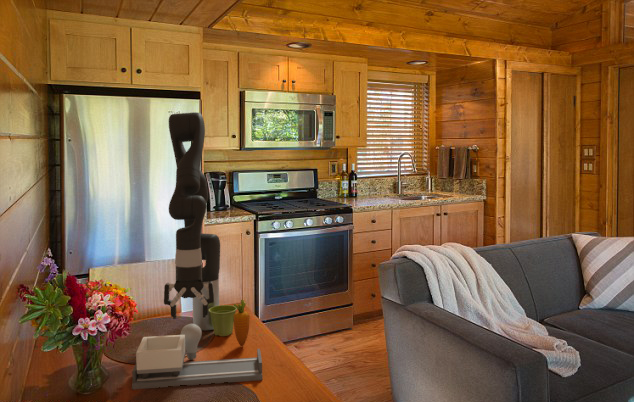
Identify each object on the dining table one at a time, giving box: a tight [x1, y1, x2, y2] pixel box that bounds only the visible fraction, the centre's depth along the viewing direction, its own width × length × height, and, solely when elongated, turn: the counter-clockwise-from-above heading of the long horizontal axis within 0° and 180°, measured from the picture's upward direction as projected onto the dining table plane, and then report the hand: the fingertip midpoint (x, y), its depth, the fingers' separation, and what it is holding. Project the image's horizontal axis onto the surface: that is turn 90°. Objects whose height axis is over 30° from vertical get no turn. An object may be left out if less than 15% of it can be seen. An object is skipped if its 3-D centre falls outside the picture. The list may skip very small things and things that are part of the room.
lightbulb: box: [180, 323, 203, 361], centre depth 153 cm, size 6×6×11 cm
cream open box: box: [135, 334, 186, 379], centre depth 141 cm, size 11×11×8 cm
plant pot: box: [209, 304, 238, 337], centre depth 175 cm, size 9×9×9 cm
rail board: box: [131, 348, 263, 390], centre depth 143 cm, size 12×34×4 cm, turn 100°
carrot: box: [232, 299, 250, 348], centre depth 163 cm, size 5×5×15 cm
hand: (189, 317), depth 152 cm, fingers open, 8 cm apart
